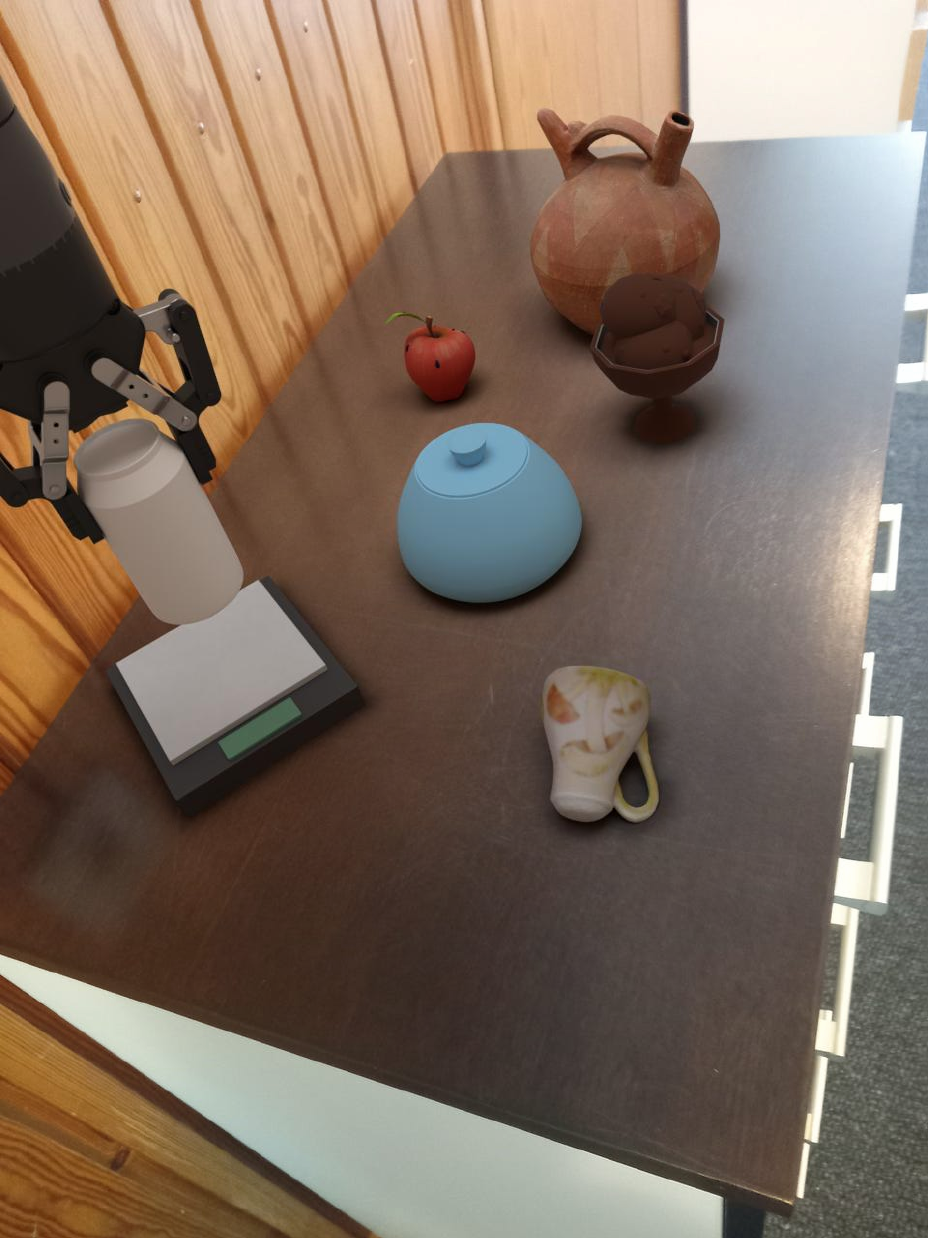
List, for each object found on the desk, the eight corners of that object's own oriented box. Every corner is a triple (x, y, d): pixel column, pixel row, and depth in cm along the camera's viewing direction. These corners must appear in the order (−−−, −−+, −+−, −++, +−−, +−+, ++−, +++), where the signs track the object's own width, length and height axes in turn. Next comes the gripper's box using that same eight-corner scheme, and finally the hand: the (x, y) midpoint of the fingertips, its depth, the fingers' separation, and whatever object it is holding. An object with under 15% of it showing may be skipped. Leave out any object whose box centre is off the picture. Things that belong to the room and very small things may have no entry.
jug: (508, 346, 106) (468, 153, 91) (593, 255, 114) (568, 66, 100) (673, 376, 96) (657, 166, 82) (752, 274, 105) (749, 69, 91)
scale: (189, 819, 73) (171, 796, 71) (118, 689, 84) (101, 665, 82) (367, 705, 77) (355, 680, 75) (277, 594, 87) (265, 569, 85)
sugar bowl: (443, 643, 80) (406, 534, 71) (383, 532, 90) (345, 426, 82) (617, 566, 81) (600, 451, 73) (539, 466, 92) (516, 355, 83)
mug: (529, 842, 66) (493, 700, 64) (586, 771, 74) (555, 642, 72) (638, 847, 63) (604, 697, 60) (685, 771, 70) (657, 635, 68)
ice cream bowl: (697, 475, 86) (688, 318, 76) (581, 449, 92) (557, 299, 81) (748, 401, 92) (746, 244, 81) (635, 380, 97) (618, 231, 86)
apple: (458, 364, 105) (435, 275, 98) (496, 389, 101) (475, 298, 94) (396, 399, 103) (368, 312, 96) (432, 427, 99) (406, 337, 92)
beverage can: (260, 559, 66) (185, 405, 57) (233, 632, 62) (148, 478, 53) (172, 564, 67) (86, 415, 59) (140, 635, 63) (43, 487, 55)
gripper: (112, 149, 51) (235, 420, 63) (-169, 274, 48) (17, 535, 60) (162, 190, 46) (285, 475, 58) (-147, 332, 43) (51, 604, 55)
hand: (149, 504), depth 59 cm, fingers closed on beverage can, 6 cm apart
